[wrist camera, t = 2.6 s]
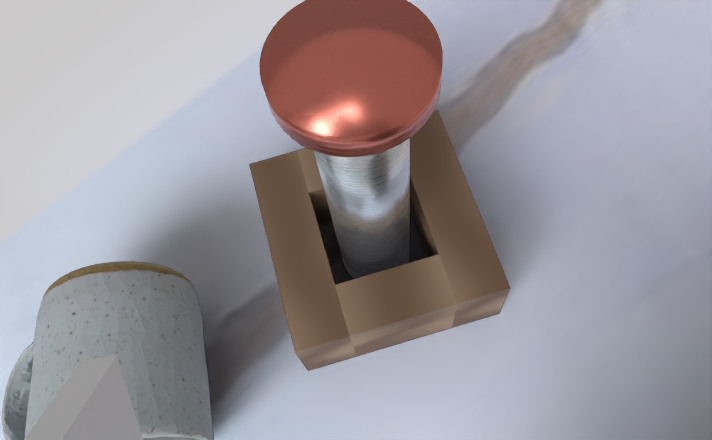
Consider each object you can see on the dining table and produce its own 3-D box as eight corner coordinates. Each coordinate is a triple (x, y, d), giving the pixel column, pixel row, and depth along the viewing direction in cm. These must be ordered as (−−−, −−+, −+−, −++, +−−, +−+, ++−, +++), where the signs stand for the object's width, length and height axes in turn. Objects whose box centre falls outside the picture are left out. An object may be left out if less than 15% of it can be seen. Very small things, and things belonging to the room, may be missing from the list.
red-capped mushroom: (339, 317, 33) (282, 158, 18) (312, 222, 35) (243, 14, 21) (443, 286, 33) (469, 105, 19) (410, 194, 36) (409, -31, 21)
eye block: (308, 370, 32) (295, 352, 28) (265, 199, 36) (249, 164, 33) (499, 313, 32) (510, 288, 29) (435, 150, 37) (437, 110, 33)
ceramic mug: (216, 291, 34) (162, 234, 27) (235, 451, 31) (179, 432, 24) (21, 336, 34) (-82, 290, 27) (18, 500, 31) (-101, 496, 24)
